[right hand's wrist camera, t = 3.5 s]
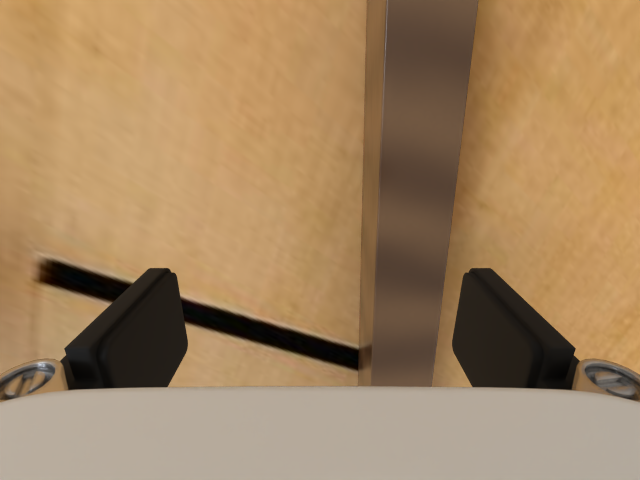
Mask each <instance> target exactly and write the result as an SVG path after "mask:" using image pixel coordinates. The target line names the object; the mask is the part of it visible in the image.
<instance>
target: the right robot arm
mask: <svg viewBox="0 0 640 480" xmlns="http://www.w3.org/2000/svg"><path fill="white" fill-rule="evenodd" d="M187 347H188V340H187V334H186V328H185V322H184V316H183V310H182V304H181V299H180V293H179V287H178V281H177V276H176V274H175V273H171V271H170V269H168V268H150V269H148V270H147V271H146V272H145V273H144V274H143V275H142V276H140V277H139V278H138V279H137V280H136V281H135V282H134V283H133V284H132V285H131V286H130V287H129V288H128V289H127V290H126V291H125V292H124V293H123V294H121V295H120V296H119V297H118V298H117V299H116V300H115V301H114V302H113V303H112V304H111V305H110V306H109V307H108V308H107V309H106V310H105V311H104V312H102V313H101V314H100V315H99V316H98V317H97V318H96V319H95V320H94V321H93V322H92V323H91V324H90V325H89V326H88V327H87V328H86V329H84V330H83V331H82V332H81V333H80V334H79V335H78V336H77V337H76V338H75V339H74V340H73V341H72V342H71V343H70V344H69V345H68V346H67V347H65V348H64V349H65V352H66V356H65V357H64V358H63V359H62V360H61V361H58V360H55V359H40V360H34V361H30V362H27V363H23V364H21V365H18V366H16V367H14V368H11V369H10V370H8V371H6V372H4V373H2V374H1V375H0V480H640V375H639V374H638V373H636V372H634V371H632V370H630V369H629V368H626V367H624V366H622V365H619V364H617V363H613V362H610V361H606V360H600V359H585V360H582V361H579V360H578V359H577V358H576V357H575V356H574V352H575V349H576V348H575V347H573V346H572V345H571V344H570V343H569V342H568V341H567V340H566V339H565V338H564V337H563V336H562V335H561V334H560V333H559V332H558V331H557V330H556V329H554V328H553V327H552V326H551V325H550V324H549V323H548V322H547V321H546V320H545V319H544V318H543V317H542V316H541V315H540V314H539V313H538V312H536V311H535V310H534V309H533V308H532V307H531V306H530V305H529V304H528V303H527V302H526V301H525V300H524V299H523V298H522V297H521V296H520V295H519V294H517V293H516V292H515V291H514V290H513V289H512V288H511V287H510V286H509V285H508V284H507V283H506V282H505V281H504V280H503V279H502V278H501V277H500V276H498V275H497V274H496V273H495V272H494V271H493V270H492V269H490V268H472V269H470V271H469V273H465V274H464V276H463V281H462V287H461V293H460V299H459V304H458V310H457V316H456V322H455V328H454V334H453V340H452V347H453V351H454V354H455V356H456V357H457V359H458V361H459V363H460V365H461V367H462V368H463V370H464V372H465V374H466V376H467V378H468V379H469V381H470V383H471V385H472V387H386V386H242V387H168V385H169V383H170V381H171V379H172V378H173V376H174V374H175V372H176V370H177V368H178V367H179V365H180V363H181V361H182V359H183V357H184V356H185V354H186V351H187Z"/></svg>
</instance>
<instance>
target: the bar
mask: <svg viewBox="0 0 640 480" xmlns="http://www.w3.org/2000/svg"><path fill="white" fill-rule="evenodd" d="M477 7H478V0H367V22H366V65H365V108H364V151H363V194H362V237H361V280H360V323H359V366H358V386H386V387H431V386H432V378H433V370H434V362H435V353H436V345H437V337H438V329H439V320H440V312H441V304H442V296H443V287H444V279H445V271H446V263H447V254H448V246H449V238H450V230H451V222H452V213H453V205H454V197H455V189H456V180H457V172H458V164H459V156H460V147H461V139H462V131H463V123H464V114H465V106H466V98H467V90H468V82H469V73H470V65H471V57H472V49H473V40H474V32H475V24H476V16H477Z"/></svg>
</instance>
